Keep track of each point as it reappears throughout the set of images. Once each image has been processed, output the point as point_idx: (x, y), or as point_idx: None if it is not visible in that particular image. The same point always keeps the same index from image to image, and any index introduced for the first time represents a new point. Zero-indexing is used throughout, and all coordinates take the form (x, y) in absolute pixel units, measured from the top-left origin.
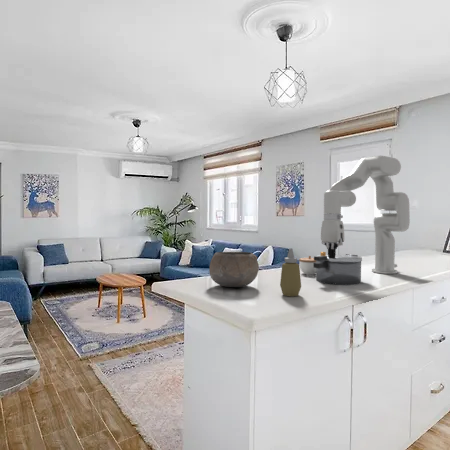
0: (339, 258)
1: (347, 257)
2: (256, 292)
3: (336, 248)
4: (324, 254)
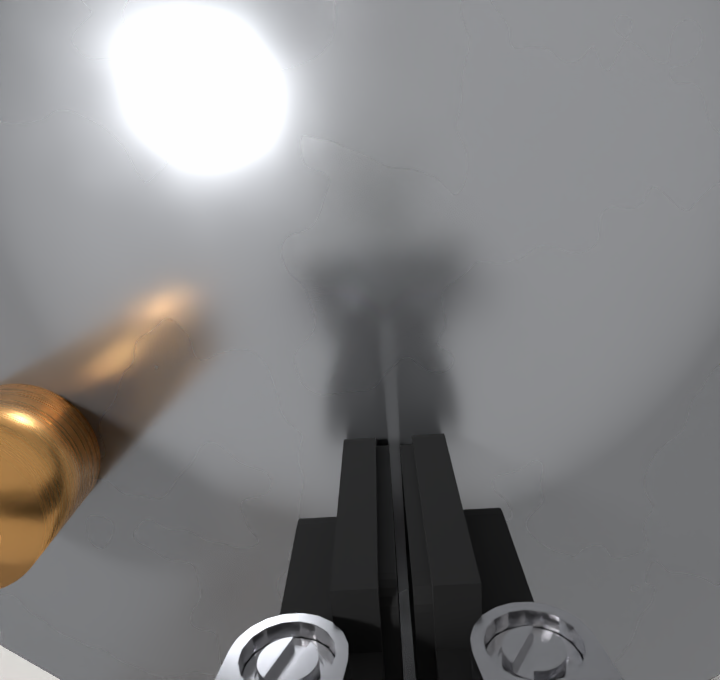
0: (628, 471)
1: (641, 62)
2: None
3: (582, 642)
4: (74, 502)
